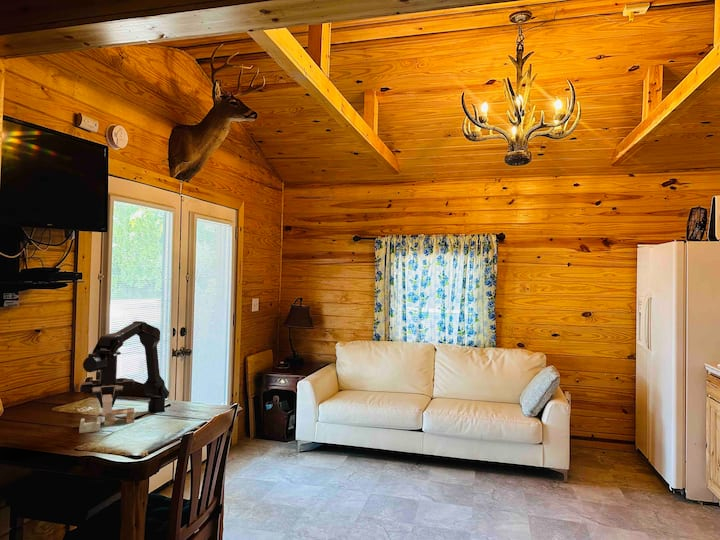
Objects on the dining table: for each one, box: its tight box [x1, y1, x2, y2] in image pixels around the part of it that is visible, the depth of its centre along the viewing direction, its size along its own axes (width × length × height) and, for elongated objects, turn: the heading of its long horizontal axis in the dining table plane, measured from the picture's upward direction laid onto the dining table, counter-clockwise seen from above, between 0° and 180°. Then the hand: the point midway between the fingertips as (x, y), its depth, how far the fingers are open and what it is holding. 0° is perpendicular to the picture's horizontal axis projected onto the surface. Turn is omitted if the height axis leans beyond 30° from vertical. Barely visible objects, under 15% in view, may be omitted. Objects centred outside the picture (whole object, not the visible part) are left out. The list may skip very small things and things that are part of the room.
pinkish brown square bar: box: [101, 393, 113, 415], centre depth 190 cm, size 18×3×3 cm, turn 29°
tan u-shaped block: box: [103, 407, 135, 426], centre depth 200 cm, size 11×6×5 cm, turn 117°
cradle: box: [78, 416, 102, 434], centre depth 191 cm, size 7×10×3 cm
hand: (107, 407), depth 186 cm, fingers closed on pinkish brown square bar, 3 cm apart
